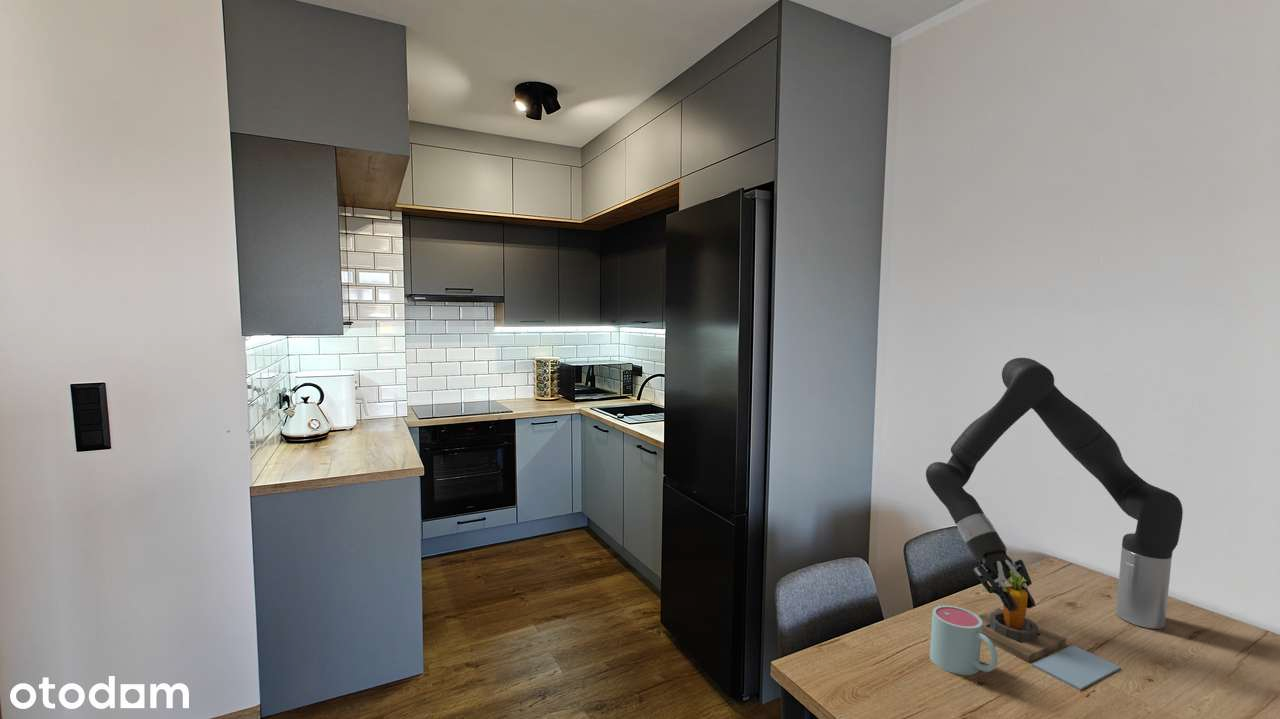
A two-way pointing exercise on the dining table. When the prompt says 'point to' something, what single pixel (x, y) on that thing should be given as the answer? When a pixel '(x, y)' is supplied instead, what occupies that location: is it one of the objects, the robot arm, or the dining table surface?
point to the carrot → (1020, 598)
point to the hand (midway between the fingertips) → (1022, 608)
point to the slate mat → (1076, 667)
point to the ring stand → (1020, 636)
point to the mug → (959, 641)
